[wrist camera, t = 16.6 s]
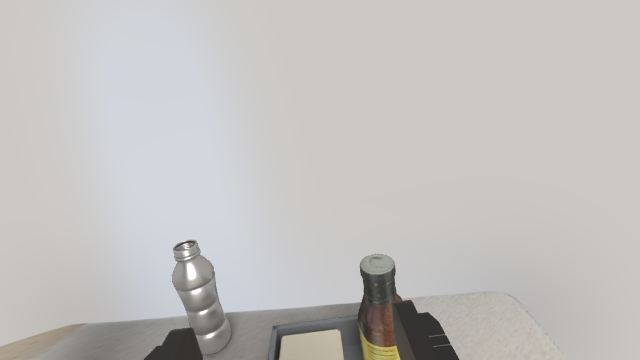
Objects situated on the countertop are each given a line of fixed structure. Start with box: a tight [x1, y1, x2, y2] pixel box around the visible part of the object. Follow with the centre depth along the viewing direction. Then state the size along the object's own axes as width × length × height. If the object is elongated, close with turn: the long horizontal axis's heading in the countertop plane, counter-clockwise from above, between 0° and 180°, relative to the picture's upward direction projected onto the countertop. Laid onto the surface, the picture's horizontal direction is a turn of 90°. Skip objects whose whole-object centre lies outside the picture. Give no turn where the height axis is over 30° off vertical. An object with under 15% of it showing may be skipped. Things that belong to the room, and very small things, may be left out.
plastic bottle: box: [172, 240, 231, 355], centre depth 50 cm, size 6×7×20 cm
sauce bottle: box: [358, 254, 402, 360], centre depth 38 cm, size 6×6×20 cm
